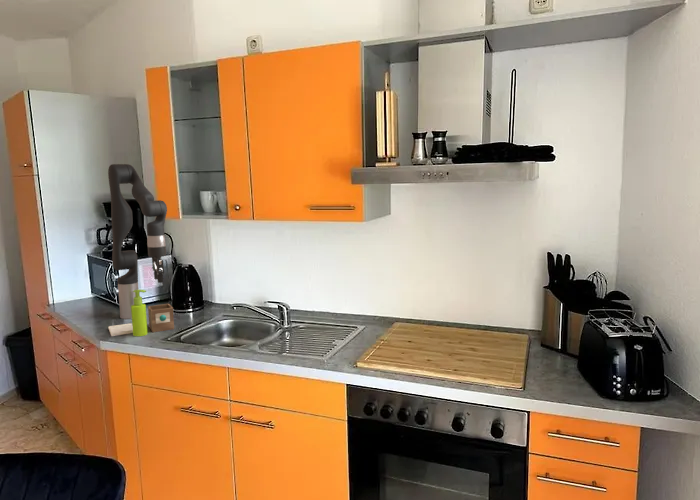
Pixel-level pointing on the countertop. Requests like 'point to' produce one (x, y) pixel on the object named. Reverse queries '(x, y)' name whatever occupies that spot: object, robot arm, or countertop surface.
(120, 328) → the dish
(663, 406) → the countertop surface
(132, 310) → the soap dispenser
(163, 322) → the box
